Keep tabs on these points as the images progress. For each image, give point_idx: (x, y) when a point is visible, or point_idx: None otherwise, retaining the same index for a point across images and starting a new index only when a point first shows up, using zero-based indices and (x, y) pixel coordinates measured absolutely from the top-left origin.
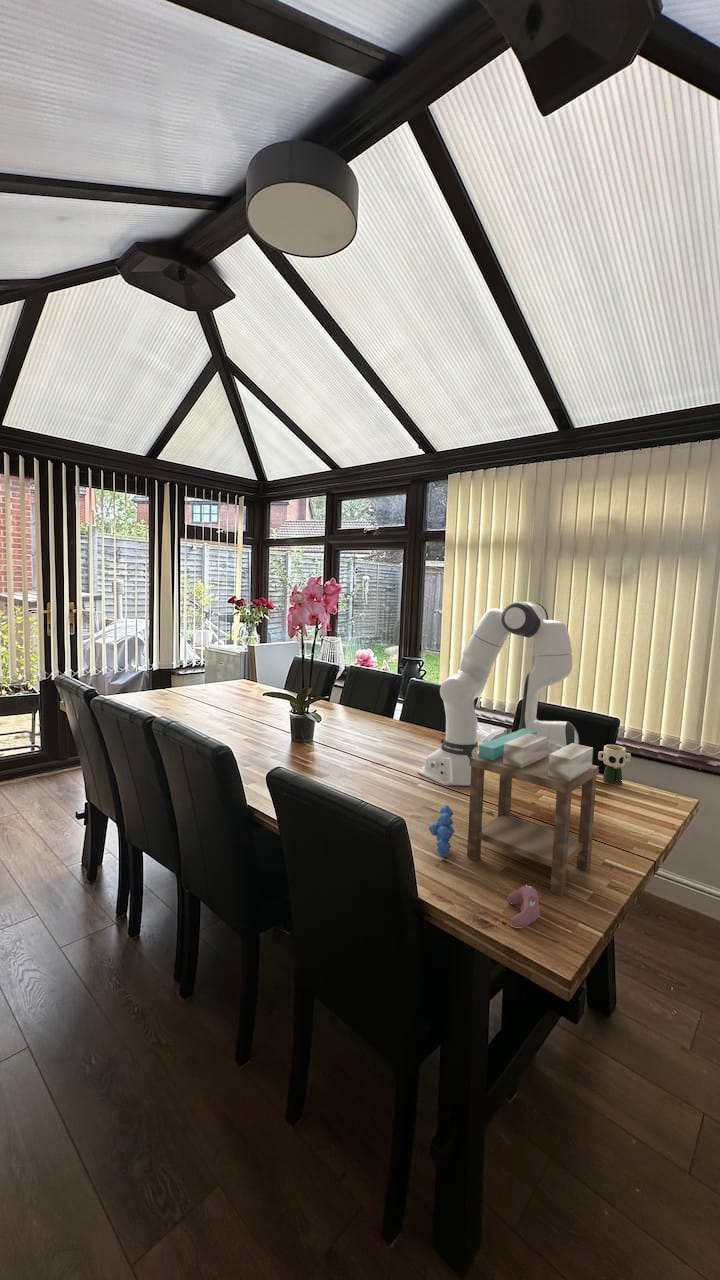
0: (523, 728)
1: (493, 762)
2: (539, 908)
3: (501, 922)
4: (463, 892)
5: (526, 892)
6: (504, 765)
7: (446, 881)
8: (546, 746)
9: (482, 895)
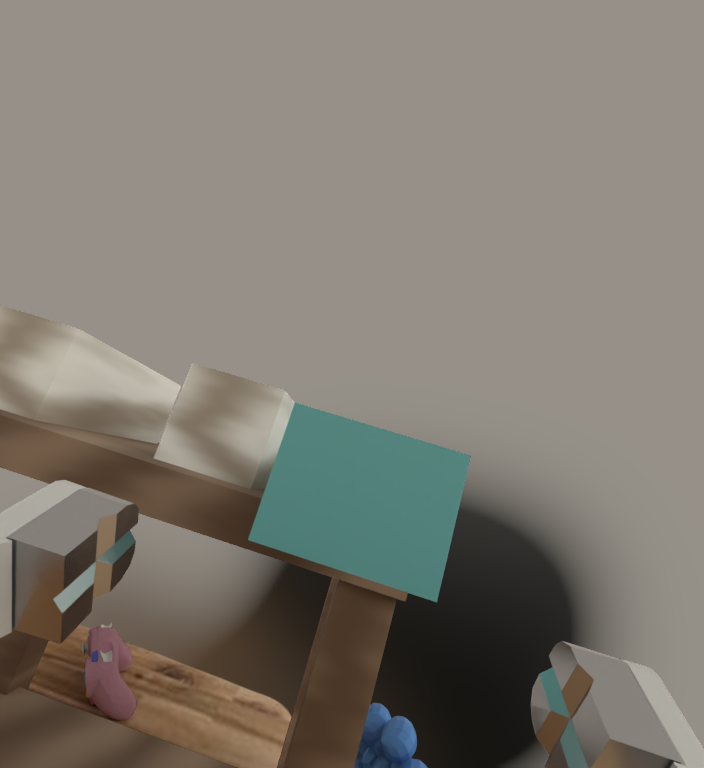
0: (460, 454)
1: None
2: (90, 629)
3: (143, 676)
4: (227, 729)
5: (117, 633)
6: None
7: (273, 753)
8: (175, 406)
9: (187, 729)
